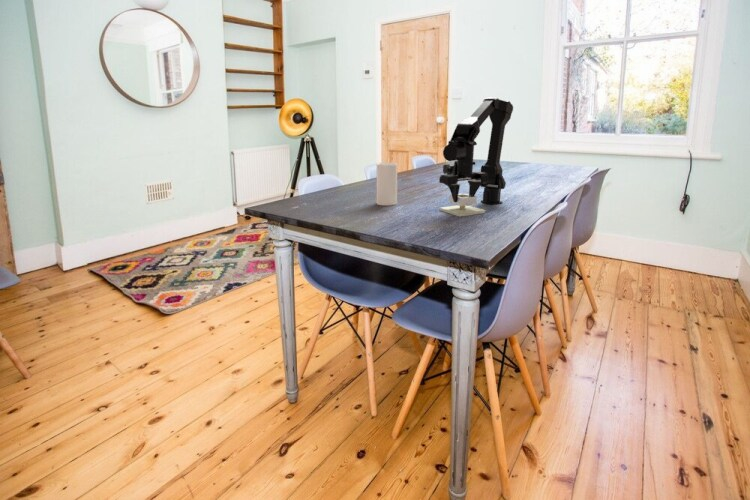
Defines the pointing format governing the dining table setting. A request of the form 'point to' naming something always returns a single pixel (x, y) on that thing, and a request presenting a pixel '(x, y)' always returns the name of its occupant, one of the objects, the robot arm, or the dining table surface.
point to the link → (464, 200)
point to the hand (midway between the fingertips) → (462, 201)
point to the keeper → (462, 210)
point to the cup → (386, 183)
